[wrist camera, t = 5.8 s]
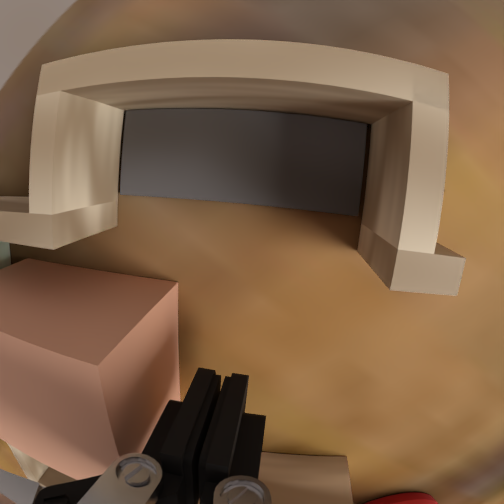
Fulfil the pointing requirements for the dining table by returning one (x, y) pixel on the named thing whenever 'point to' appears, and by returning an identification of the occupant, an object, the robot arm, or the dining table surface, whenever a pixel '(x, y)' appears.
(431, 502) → the canned food
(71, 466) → the block
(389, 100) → the channel
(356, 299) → the dining table surface
